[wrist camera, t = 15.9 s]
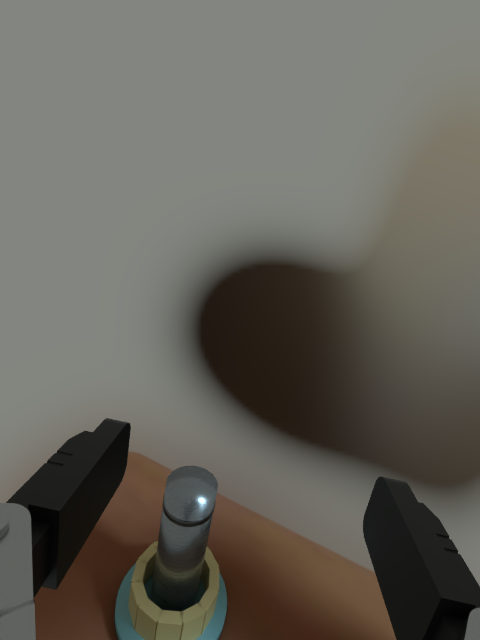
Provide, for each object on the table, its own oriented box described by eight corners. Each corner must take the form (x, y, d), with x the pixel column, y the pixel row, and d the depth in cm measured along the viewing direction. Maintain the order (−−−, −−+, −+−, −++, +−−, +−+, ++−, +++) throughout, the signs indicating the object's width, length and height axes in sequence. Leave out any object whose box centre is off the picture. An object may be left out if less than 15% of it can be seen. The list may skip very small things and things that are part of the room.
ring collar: (198, 539, 41) (203, 513, 40) (245, 633, 32) (253, 603, 31) (104, 576, 35) (107, 547, 34) (131, 706, 26) (136, 671, 25)
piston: (185, 567, 36) (204, 460, 33) (204, 610, 32) (227, 495, 29) (143, 586, 34) (158, 472, 30) (158, 635, 30) (177, 512, 26)
